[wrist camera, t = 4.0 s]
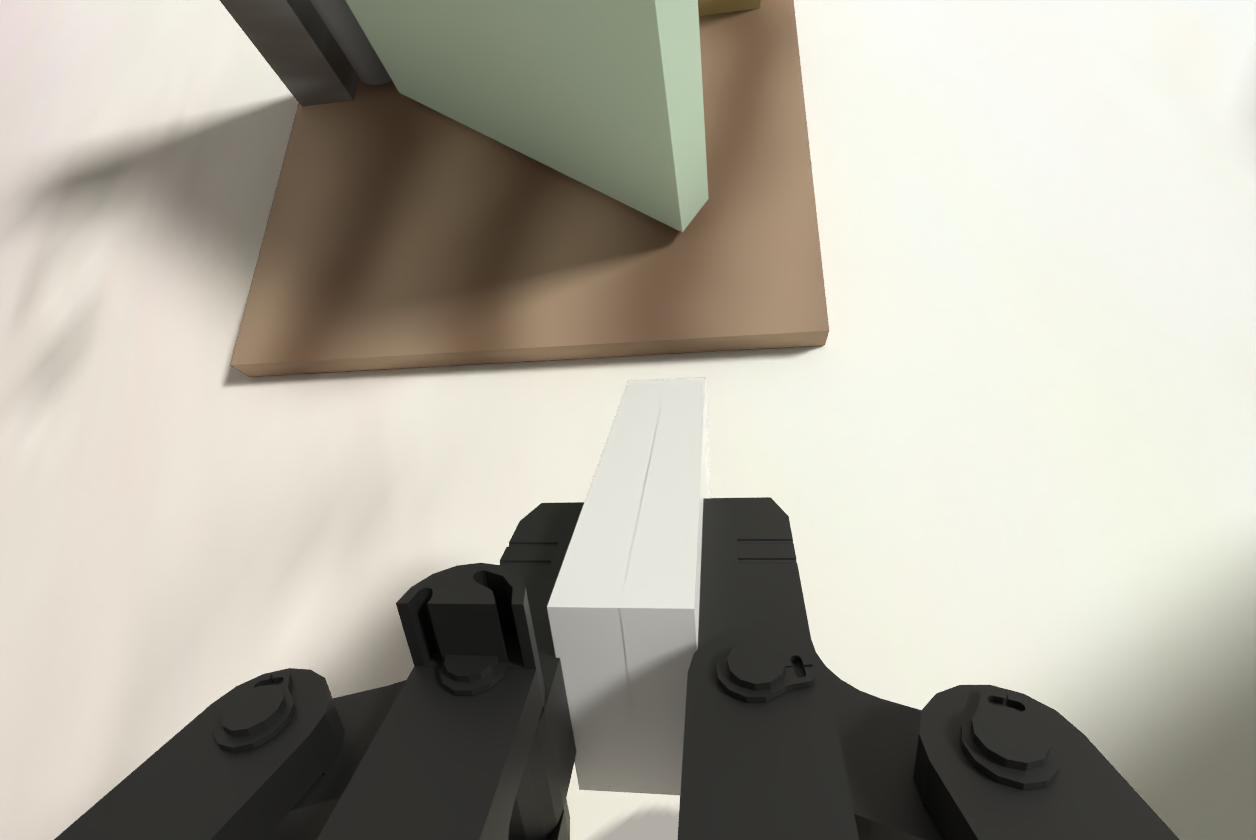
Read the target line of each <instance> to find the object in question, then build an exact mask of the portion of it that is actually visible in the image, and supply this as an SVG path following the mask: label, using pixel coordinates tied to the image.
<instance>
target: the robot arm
mask: <svg viewBox="0 0 1256 840" xmlns="http://www.w3.org/2000/svg"><path fill="white" fill-rule="evenodd" d="M396 605H397V609H398V612H399V615H400V619H401V622H402V625H403V629H404V632H405V636H406V639H407V642H408V646H409V649H410V652H411V656H412V659H413V663H414V668H413V670H412V672H411V673H410V675H409V677H408V679H407V680H405V681H402V682H399V683H395V684H392V685H389V686H385V687H381V688H377V689H372V690H368V691H364V692H359V693H355V694H351V695H346V696H342V697H338V698H332V696H331V693H330V690H329V688H328V685H327V682H326V680H325V678H324V677H322V676H320V675H319V674H317V673H315V672H313V671H312V670H306V669H291V668H289V669H284V670H280V671H275V672H271V673H266V674H263V675H261V676H258V677H256V678H254V679H252V680H250V681H247V682H245V683H243V684H241V685H239V686H236V687H235V688H234V689H232V690H231V691H229V692H228V693H227V694H225V695H224V696H222V697H221V698H219V699H218V700H217V701H215V702H214V703H212V704H211V705H210V706H209V707H208V708H206V709H205V710H204V711H203V712H202V713H201V714H199V715H198V716H197V717H196V718H195V719H194V720H192V721H191V722H190V723H189V724H188V725H187V726H186V727H184V728H183V729H182V730H181V731H180V732H179V733H177V734H176V735H175V736H174V737H173V738H172V739H170V740H169V741H168V742H167V743H166V744H165V745H163V746H162V747H161V748H160V749H159V750H158V751H156V752H155V753H154V754H153V755H152V756H151V757H150V758H148V759H147V760H146V761H145V762H144V763H143V764H141V765H140V766H139V767H138V768H137V769H136V770H134V771H133V772H132V773H131V774H130V775H129V776H127V777H126V778H125V779H124V780H123V781H122V782H120V783H119V784H118V785H117V786H116V787H115V788H114V789H112V790H111V791H110V792H109V793H108V794H107V795H105V796H104V797H103V798H102V799H101V800H100V801H98V802H97V803H96V804H95V805H94V806H93V807H91V808H90V809H89V810H88V811H87V812H86V813H85V814H83V815H82V816H81V817H80V818H79V819H78V820H76V821H75V822H74V823H73V824H72V825H71V826H69V827H68V828H67V829H66V830H65V831H64V832H62V833H61V834H60V835H59V836H58V837H57V838H55V839H54V840H569V839H570V816H569V810H568V805H567V800H566V796H567V792H568V787H569V783H570V778H571V774H572V770H573V765H574V761H575V767H576V772H577V778H578V784H579V789H580V790H597V791H615V792H633V793H651V794H668V795H680V810H679V827H678V840H1179V839H1178V838H1177V836H1176V835H1175V834H1174V833H1173V832H1172V831H1171V830H1170V829H1169V828H1168V827H1167V825H1166V824H1165V823H1164V822H1163V821H1162V820H1161V819H1160V818H1159V817H1158V816H1157V814H1156V813H1155V812H1154V811H1153V810H1152V809H1151V808H1150V807H1149V806H1148V805H1147V803H1146V802H1145V801H1144V800H1143V799H1142V798H1141V797H1140V796H1139V795H1138V794H1137V792H1136V791H1135V790H1134V789H1133V788H1132V787H1131V786H1130V785H1129V784H1128V783H1127V781H1126V780H1125V779H1124V778H1123V777H1122V776H1121V775H1120V774H1119V773H1118V772H1117V770H1116V769H1115V768H1114V767H1113V766H1112V765H1111V764H1110V763H1109V762H1108V760H1107V759H1106V758H1105V757H1104V756H1103V755H1102V754H1101V753H1100V752H1099V751H1098V749H1097V748H1096V747H1095V746H1094V745H1093V744H1092V743H1091V742H1090V741H1089V740H1088V738H1087V737H1086V736H1085V735H1084V734H1083V733H1082V732H1080V731H1079V730H1078V729H1077V728H1076V727H1075V726H1073V725H1072V724H1071V723H1070V722H1069V721H1067V720H1066V719H1065V718H1064V717H1063V716H1062V715H1060V714H1059V713H1058V712H1057V711H1056V710H1054V709H1052V708H1050V707H1048V706H1046V705H1044V704H1042V703H1040V702H1038V701H1036V700H1034V699H1032V698H1031V697H1029V696H1027V695H1025V694H1022V693H1019V692H1015V691H1011V690H1007V689H1003V688H999V687H996V686H992V685H959V686H956V687H953V688H950V689H948V690H945V691H942V692H940V693H937V694H936V695H935V696H934V697H933V698H932V699H931V700H930V701H929V703H928V704H927V705H926V706H925V707H924V708H923V709H922V710H918V709H915V708H911V707H908V706H904V705H901V704H897V703H894V702H890V701H887V700H883V699H880V698H878V697H875V696H872V695H870V694H867V693H864V692H862V691H859V690H858V689H856V688H854V687H853V686H851V685H849V684H847V683H846V682H844V681H842V680H841V679H840V678H838V677H837V676H836V675H835V674H834V673H833V672H832V671H830V670H829V669H828V668H827V667H826V666H825V665H824V663H823V662H822V660H821V659H820V658H819V656H818V655H817V653H816V651H815V649H814V646H813V643H812V640H811V636H810V631H809V626H808V620H807V615H806V609H805V604H804V598H803V593H802V588H801V582H800V577H799V571H798V566H797V563H796V555H795V549H794V544H793V539H792V533H791V528H790V522H789V517H788V515H787V514H786V513H785V512H784V511H783V510H782V509H781V508H780V507H779V506H778V505H777V504H776V503H775V502H774V501H773V500H772V498H711V485H710V464H709V442H708V421H707V400H706V378H705V377H701V378H678V379H655V380H631V381H628V382H627V385H626V388H625V391H624V393H623V396H622V399H621V402H620V405H619V407H618V410H617V413H616V416H615V419H614V421H613V424H612V427H611V430H610V432H609V435H608V438H607V441H606V444H605V446H604V449H603V452H602V455H601V458H600V460H599V463H598V466H597V469H596V472H595V474H594V477H593V480H592V483H591V485H590V488H589V491H588V494H587V497H586V499H585V502H582V503H541V504H540V505H539V506H538V507H536V508H535V509H534V510H533V511H532V512H530V513H529V514H528V515H527V516H526V517H524V518H523V519H522V520H521V521H520V522H519V524H518V526H517V528H516V530H515V532H514V534H513V536H512V538H511V540H510V542H509V547H507V548H506V550H505V552H504V554H503V556H502V558H501V559H500V565H493V564H485V563H476V564H468V565H459V566H455V567H452V568H449V569H446V570H443V571H440V572H437V573H435V574H432V575H431V576H429V577H427V578H426V579H424V580H422V581H421V582H419V583H417V584H416V585H414V586H412V587H411V588H410V589H409V590H408V591H407V592H406V593H405V594H404V595H403V596H402V598H401V599H400V600H399V601H398V602H397V603H396Z"/></svg>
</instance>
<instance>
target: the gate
mask: <svg viewBox="0 0 1256 840" xmlns="http://www.w3.org/2000/svg"><path fill="white" fill-rule="evenodd" d="M310 1H311V3H312V4H313V6H314V7H315V9H316V10H317V12H318V14H319V15H320V17H321V18H322V20H323V21H324V23H325V25H326V26H327V28H328V29H329V31H330V32H331V34H332V36H333V37H334V39H335V40H336V42H337V43H338V45H339V47H340V48H341V50H342V51H343V53H344V54H345V56H346V58H347V59H348V61H349V62H350V64H351V65H352V67H353V69H354V70H355V72H356V73H357V75H358V76H359V78H360V79H361V80H362V81H363V82H364V83H366V84H369V85H381V84H385V83H387V82H390V81H393V83H394V84H395V86H396V88H397V90H398V91H399V93H401V94H403V95H405V96H407V97H409V98H411V99H413V100H415V101H417V102H419V103H421V104H423V105H425V106H427V107H429V108H431V109H433V110H435V111H437V112H439V113H441V114H443V115H445V116H447V117H449V118H451V119H453V120H456V121H458V122H460V123H462V124H464V125H466V126H468V127H470V128H472V129H474V130H476V131H478V132H480V133H482V134H484V135H486V136H488V137H490V138H492V139H494V140H496V141H498V142H500V143H502V144H504V145H506V146H508V147H510V148H512V149H514V150H516V151H518V152H520V153H522V154H524V155H526V156H528V157H530V158H532V159H534V160H537V161H539V162H541V163H543V164H545V165H547V166H549V167H551V168H553V169H555V170H557V171H559V172H561V173H563V174H565V175H567V176H569V177H571V178H573V179H575V180H577V181H579V182H581V183H583V184H585V185H587V186H589V187H591V188H593V189H595V190H597V191H599V192H601V193H603V194H605V195H607V196H609V197H611V198H613V199H615V200H618V201H620V202H622V203H624V204H626V205H628V206H630V207H632V208H634V209H636V210H638V211H640V212H642V213H644V214H646V215H648V216H650V217H652V218H654V219H656V220H658V221H660V222H662V223H664V224H666V225H668V226H670V227H672V228H674V229H676V230H678V231H680V232H683V231H684V230H685V228H686V227H687V226H688V225H689V223H690V222H691V221H692V219H693V218H694V217H695V216H696V214H697V213H698V212H699V210H700V209H701V208H702V206H703V205H704V204H705V203H706V201H707V200H708V199H709V198H708V179H707V161H706V142H705V123H704V105H703V86H702V68H701V49H700V31H699V12H698V0H310Z"/></svg>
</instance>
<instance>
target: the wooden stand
mask: <svg viewBox="0 0 1256 840" xmlns="http://www.w3.org/2000/svg"><path fill="white" fill-rule="evenodd" d="M220 1H221V3H222V4H223V5H224V6H225V8H226V9H227V10H228V12H229V13H230V14H231V16H232V17H233V18H234V19H235V21H236V22H237V23H238V25H239V26H240V27H241V28H242V30H243V31H244V32H245V34H246V35H247V36H248V38H249V39H250V40H251V41H252V43H253V44H254V45H255V47H256V48H257V49H258V50H259V52H260V53H261V54H262V56H263V57H264V58H265V60H266V61H267V62H268V63H269V65H270V66H271V67H272V69H273V70H274V71H275V72H276V74H277V75H278V76H279V78H280V79H281V80H282V82H283V83H284V84H285V85H286V87H287V88H288V89H289V91H290V92H291V93H292V94H293V96H294V97H295V98H296V100H297V101H298V102H299V104H298V108H297V112H296V115H295V119H294V123H293V127H292V131H291V134H290V138H289V142H288V146H287V150H286V154H285V157H284V161H283V165H282V169H281V173H280V177H279V180H278V184H277V188H276V192H275V196H274V200H273V203H272V207H271V211H270V215H269V219H268V222H267V226H266V230H265V234H264V238H263V242H262V245H261V249H260V253H259V257H258V261H257V265H256V268H255V272H254V276H253V280H252V284H251V288H250V291H249V295H248V299H247V303H246V307H245V310H244V314H243V318H242V322H241V326H240V330H239V333H238V337H237V341H236V345H235V349H234V353H233V356H232V360H231V364H230V365H231V366H232V367H234V368H236V369H237V370H239V371H241V372H242V373H244V374H246V375H247V376H249V377H253V376H271V375H290V374H308V373H326V372H344V371H363V370H381V369H399V368H417V367H436V366H454V365H472V364H490V363H509V362H527V361H545V360H564V359H582V358H600V357H618V356H637V355H655V354H673V353H691V352H710V351H728V350H746V349H764V348H783V347H801V346H819V345H825V343H826V339H827V336H828V332H829V326H828V316H827V307H826V298H825V289H824V279H823V270H822V261H821V252H820V242H819V233H818V224H817V214H816V205H815V196H814V187H813V177H812V168H811V159H810V150H809V140H808V131H807V122H806V112H805V103H804V94H803V85H802V75H801V66H800V57H799V48H798V38H797V29H796V20H795V10H794V1H793V0H698V12H699V31H700V49H701V68H702V86H703V105H704V123H705V142H706V161H707V179H708V198H709V199H708V200H707V201H706V203H705V204H704V205H703V206H702V208H701V209H700V210H699V212H698V213H697V214H696V216H695V217H694V218H693V219H692V221H691V222H690V223H689V225H688V226H687V227H686V228H685V230H684V231H683V232H680V231H678V230H676V229H674V228H672V227H670V226H668V225H666V224H664V223H662V222H660V221H658V220H656V219H654V218H652V217H650V216H648V215H646V214H644V213H642V212H640V211H638V210H636V209H634V208H632V207H630V206H628V205H626V204H624V203H622V202H620V201H618V200H615V199H613V198H611V197H609V196H607V195H605V194H603V193H601V192H599V191H597V190H595V189H593V188H591V187H589V186H587V185H585V184H583V183H581V182H579V181H577V180H575V179H573V178H571V177H569V176H567V175H565V174H563V173H561V172H559V171H557V170H555V169H553V168H551V167H549V166H547V165H545V164H543V163H541V162H539V161H537V160H534V159H532V158H530V157H528V156H526V155H524V154H522V153H520V152H518V151H516V150H514V149H512V148H510V147H508V146H506V145H504V144H502V143H500V142H498V141H496V140H494V139H492V138H490V137H488V136H486V135H484V134H482V133H480V132H478V131H476V130H474V129H472V128H470V127H468V126H466V125H464V124H462V123H460V122H458V121H456V120H453V119H451V118H449V117H447V116H445V115H443V114H441V113H439V112H437V111H435V110H433V109H431V108H429V107H427V106H425V105H423V104H421V103H419V102H417V101H415V100H413V99H411V98H409V97H407V96H405V95H403V94H401V93H399V91H398V90H397V88H396V86H395V84H394V83H393V81H390V82H387V83H385V84H381V85H369V84H366V83H364V82H363V81H362V80H361V79H360V78H359V76H358V75H357V73H356V72H355V70H354V69H353V67H352V65H351V64H350V62H349V61H348V59H347V58H346V56H345V54H344V53H343V51H342V50H341V48H340V47H339V45H338V43H337V42H336V40H335V39H334V37H333V36H332V34H331V32H330V31H329V29H328V28H327V26H326V25H325V23H324V21H323V20H322V18H321V17H320V15H319V14H318V12H317V10H316V9H315V7H314V6H313V4H312V3H311V1H310V0H220Z"/></svg>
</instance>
